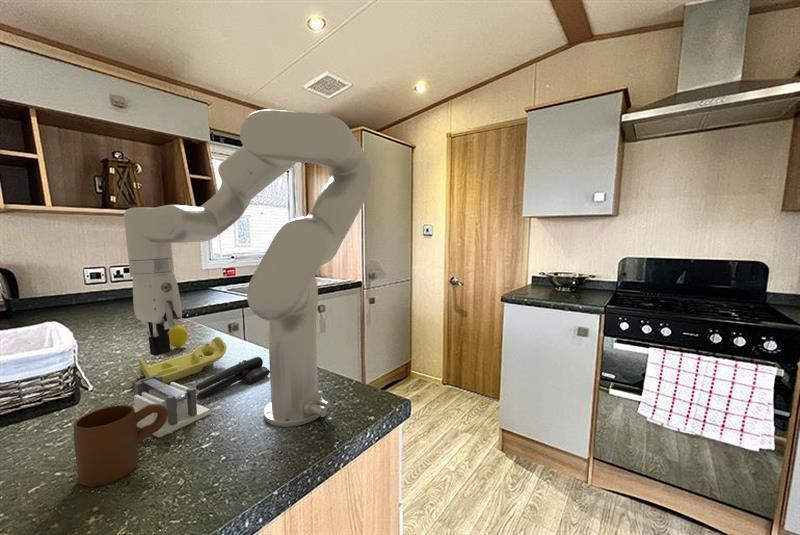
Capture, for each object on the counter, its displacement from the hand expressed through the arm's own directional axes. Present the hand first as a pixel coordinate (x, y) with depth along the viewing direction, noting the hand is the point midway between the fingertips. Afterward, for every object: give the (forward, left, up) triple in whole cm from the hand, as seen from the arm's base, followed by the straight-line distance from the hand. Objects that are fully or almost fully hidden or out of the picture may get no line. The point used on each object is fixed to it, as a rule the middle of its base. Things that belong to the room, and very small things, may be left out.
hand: (160, 353), depth 74 cm
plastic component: (+17, -14, -13) cm, 26 cm away
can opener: (-2, -15, -13) cm, 20 cm away
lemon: (+40, -24, -13) cm, 48 cm away
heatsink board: (-3, +1, -13) cm, 13 cm away
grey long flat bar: (-3, +1, -7) cm, 8 cm away
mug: (-14, +13, -13) cm, 23 cm away
